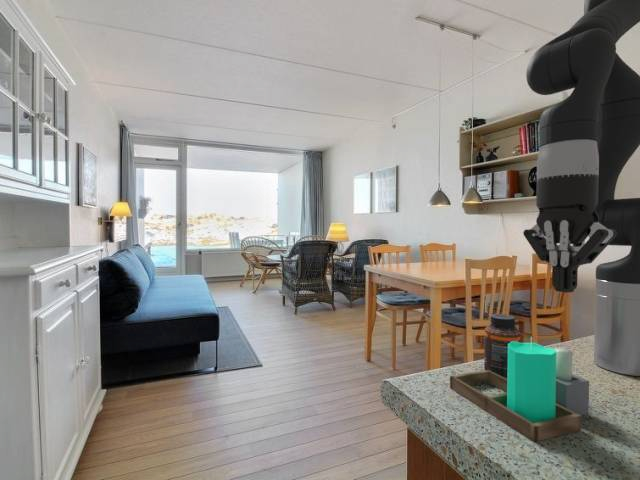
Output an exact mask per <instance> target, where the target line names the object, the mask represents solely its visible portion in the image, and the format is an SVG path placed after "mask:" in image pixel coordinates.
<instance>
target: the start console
mask: <svg viewBox="0 0 640 480" xmlns="http://www.w3.org/2000/svg"><path fill="white" fill-rule="evenodd" d="M556 403H557V404H559V405H561V406H563V407H565V408H567V409H569V410H571V411H573V412H575V413H577V414H579V415H581V417H583V416H587V415H589V414H590V413H589V411H590V409H589V407H590V406H589V405H590V380H588V379H586V378H583V377H580V376H578V375H576V374H573V373H572V381H569V382H563V381H561V380H559V379H556Z"/></svg>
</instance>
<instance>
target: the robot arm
mask: <svg viewBox="0 0 640 480" xmlns="http://www.w3.org/2000/svg"><path fill="white" fill-rule="evenodd" d="M638 23H639V24H640V0H584V4H583V15H582V16H581V17H580V18H579V19H578V20H577V21H575V23H574V24H573V25H572V26H571V27H570V28H569V30H567V31H566V32H564V33H561V35H558V36H557V37H555V38H554V39H552V40H550V41H549V42H547V43H545V44H544V45H542V46H541V47H540V48H538V49H537V50H536V51H535V52H534V54H533V55H532V56H531V58H530V59H529V62H528V64H527V68H526V75H525V76H526V81H527V86H528V87H529V89H531V91H532V92H534V93H536V94H538V95H541V96H551V95H554V94H558V93H561V92H565V91H569V90H571V89H573V90H572V92H571V93H570V95H569V96H567V97H566V98H565V99H563V100H561V101H560V102H558V103H555V104H553V105H552V106H550V107H548V108H546V109H545V110H543V112H542V113H541V115H540V118H539V132H538V133H539V136H538V137H539V139H538V145H539V146H538V156H537V162H536V200H535V203H536V207H537V208H538V210H539V211H538V215H537V217H536V224H535V225H533V226H532V227H531V228H530V229H529V228H528V229H526V228H525V229H524V231H523V233H522V234H523V236H524V238H525V239H526V240H527V242H528V243H529V245H530V247H531V248H532V250H533V251H534V253H535V255H536V256H537V257H538V259H539V260H540V261H541V262H547V263H549V264H550V266H551V269H552V270H551V271H552V273H551V284H552V287H554V291H555V292H561V293H573V292H574V291H575V289H577V287H578V274H579V273H578V269H579V267H580V266H583V265H587V264H592V263H594V261H595V260H596V259H597V258H598V257H599V256H600V254H601V253H602V252H604V250H606V248H607V247H608V246H619V247H621V246H622V247H624V246H625V247H627V246H628V247H631V248H630V251H629V253H628V254H627V255H625V256H624V257H622V258H619V259H616V260H613V261H609V262H604V263H600V264H598V265H597V266H596V268H595V285H594V286H595V287H594V292H595V293H594V294H595V295H594V297H595V299H594V336H593V337H594V338H593V339H594V340H593V341H594V342H593V344H594V345H593V362H594V363H595V364H596V365H597V366H598V367H600V368H603V369H606V370H608V371H611V372H614V373H617V374H622V375H626V376H627V375H628V376H636V377H640V197H630V198H618V199H617V198H616V199H615V193H616V188H617V183H618V179H619V177H620V174H621V172H622V171H623V169H624V167H625V165H626V164H627V163H628V161H629V160H630V158H631V157H633V155H634V154H635V152H636V151H637V149H638V148H639V147H640V75H639V74H638V73H637V72H636V71H635V70H634V69H633V68H631V67H630V66H629V65H628V64H627V63H626V62H625V61H624V60H623V59H622V58H621V57H620V56H619V54H618V53H617V45H616V44H617V43H618V41H620V39H621V38H622V37H623V36H624V35H625V34H627V32H629V31H630V30H631V29H633V27H635V26H636V25H637V24H638ZM587 238H588V240H587V241H586V239H587Z"/></svg>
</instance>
